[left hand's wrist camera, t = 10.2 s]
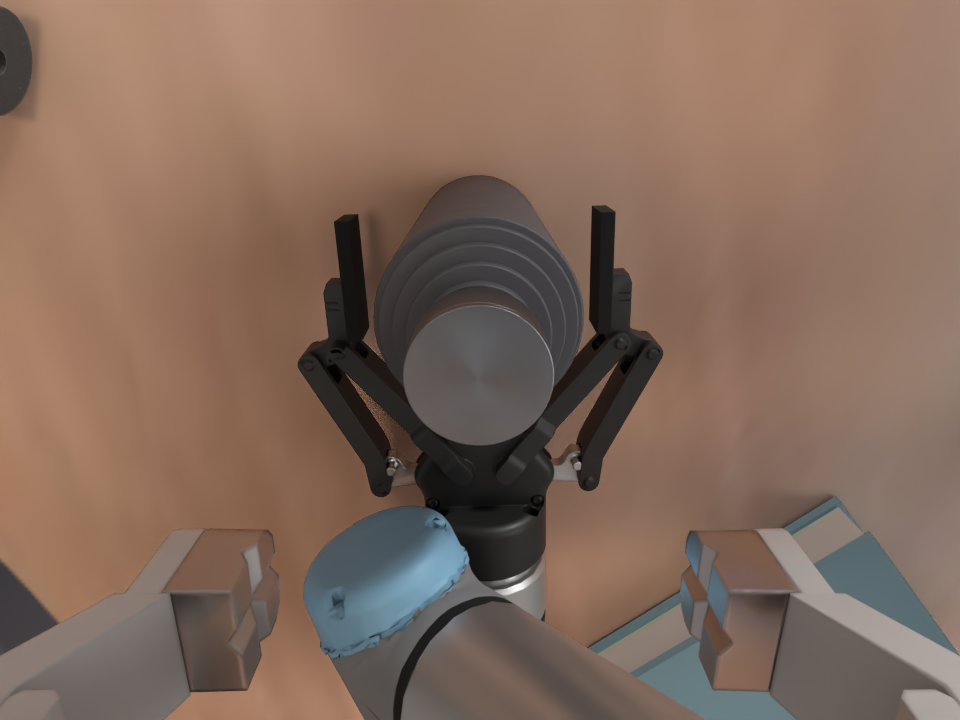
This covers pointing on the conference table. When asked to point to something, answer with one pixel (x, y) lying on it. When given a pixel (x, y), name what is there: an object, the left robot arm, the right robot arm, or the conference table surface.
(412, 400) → the cap
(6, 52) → the laser sight
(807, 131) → the conference table surface
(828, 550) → the book
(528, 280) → the bottle
